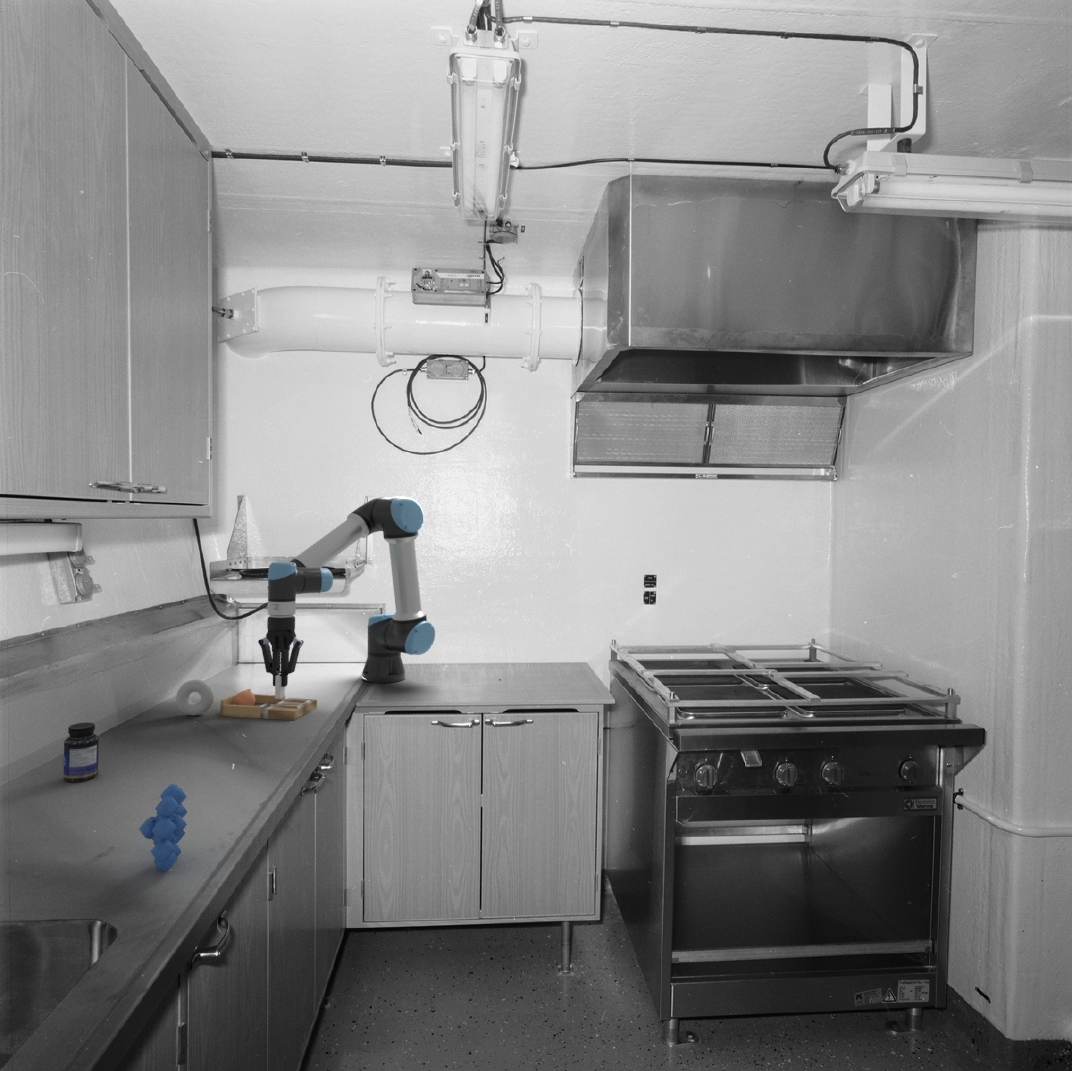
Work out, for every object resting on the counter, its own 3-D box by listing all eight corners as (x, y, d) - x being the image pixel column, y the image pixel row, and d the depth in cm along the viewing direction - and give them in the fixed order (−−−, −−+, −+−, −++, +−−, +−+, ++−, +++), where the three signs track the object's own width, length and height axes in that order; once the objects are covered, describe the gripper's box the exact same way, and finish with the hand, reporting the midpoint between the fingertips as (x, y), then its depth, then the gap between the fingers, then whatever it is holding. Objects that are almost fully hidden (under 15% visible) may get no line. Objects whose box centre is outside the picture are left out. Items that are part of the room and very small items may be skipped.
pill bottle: (67, 774, 148) (68, 722, 148) (101, 771, 150) (102, 720, 150) (59, 784, 142) (60, 730, 142) (94, 781, 144) (95, 728, 144)
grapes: (148, 849, 114) (149, 776, 114) (193, 845, 116) (194, 773, 116) (127, 884, 103) (129, 804, 103) (178, 879, 105) (179, 800, 105)
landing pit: (247, 703, 209) (247, 689, 209) (288, 706, 208) (288, 691, 208) (220, 715, 195) (220, 700, 195) (263, 718, 194) (263, 702, 194)
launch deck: (288, 706, 208) (288, 695, 208) (316, 707, 206) (316, 697, 206) (263, 718, 194) (263, 707, 194) (294, 720, 192) (294, 709, 192)
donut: (215, 713, 198) (216, 678, 198) (211, 716, 194) (212, 680, 194) (178, 713, 196) (178, 678, 196) (173, 717, 193) (174, 681, 193)
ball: (247, 688, 204) (258, 688, 201) (248, 706, 204) (259, 707, 201) (230, 692, 200) (241, 692, 197) (231, 711, 199) (243, 712, 197)
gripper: (253, 616, 197) (251, 699, 198) (296, 618, 196) (295, 702, 196) (266, 613, 205) (265, 693, 205) (308, 615, 203) (307, 695, 203)
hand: (279, 697), depth 200 cm, fingers closed
